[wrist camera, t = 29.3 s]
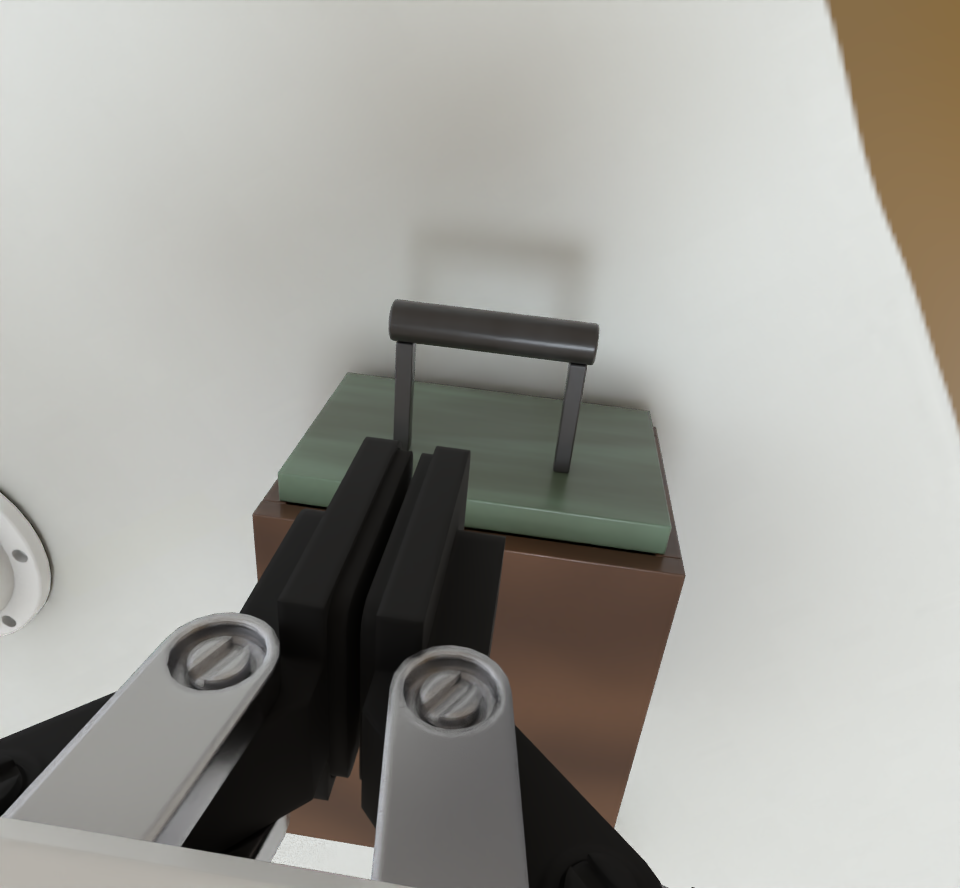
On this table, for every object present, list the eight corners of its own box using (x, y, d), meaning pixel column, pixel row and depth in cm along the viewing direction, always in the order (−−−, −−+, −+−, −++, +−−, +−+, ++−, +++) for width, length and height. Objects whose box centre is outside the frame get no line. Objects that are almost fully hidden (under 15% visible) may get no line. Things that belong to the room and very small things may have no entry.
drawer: (347, 245, 30) (267, 315, 23) (678, 284, 30) (713, 370, 22) (348, 643, 41) (295, 782, 34) (590, 679, 40) (592, 831, 33)
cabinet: (340, 385, 35) (251, 514, 25) (656, 426, 34) (685, 575, 24) (342, 659, 43) (277, 832, 34) (594, 698, 42) (598, 885, 33)
